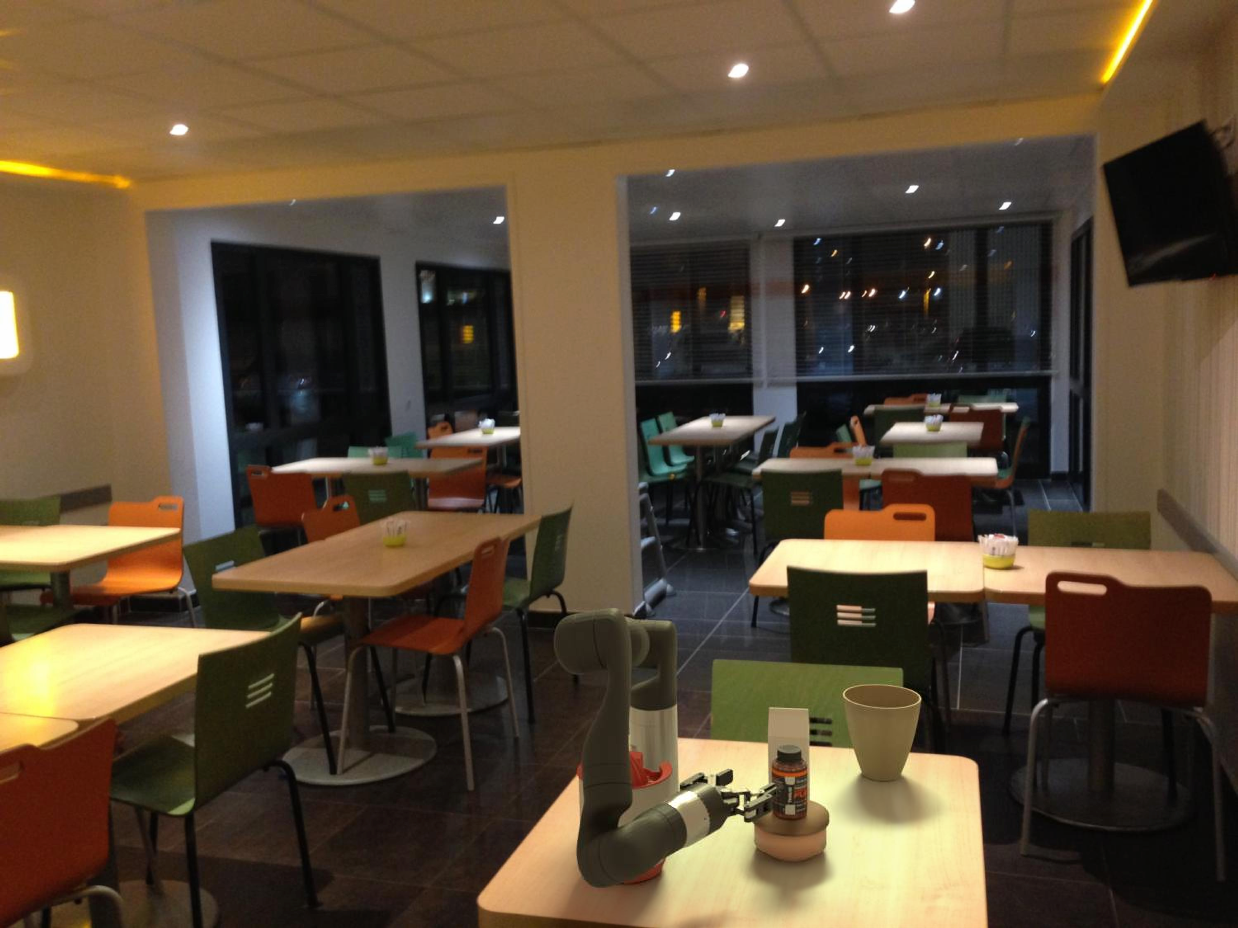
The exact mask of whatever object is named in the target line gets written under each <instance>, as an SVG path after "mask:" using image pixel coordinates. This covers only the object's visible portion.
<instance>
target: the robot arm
mask: <svg viewBox="0 0 1238 928" xmlns="http://www.w3.org/2000/svg"><path fill="white" fill-rule="evenodd" d="M553 635H554V636H553V648H554V653H555V656H556V658H557V660H558V662H559V664H560V665H561V667H562V668H563V669H564V670H565V671H566V672H567V673H570V674H572V675H574V676H575V675H577V676H578V675H579V676H580V675H581V676H582V675H587V674H592V673H593V674H595V673H600V672H605V671H608V675H607V676H608V678H607V687H606V691H605V694H604V698H603V700H602V703H601V705H600V707H599V710H598V712H597V714H596V716H595V719H594V720H593V722H592V725H591V726H590V728H589V730H588V733H587V734H586V737H585V739H584V743H583V747H582V750H581V752H582V753H581V763H582V781H583V795H584V805H583V809H582V814H581V819H580V818H579V827H578V832H577V839H576V847H575V848H576V850H575V853H576V862H577V867H578V870H579V873H580V875H581V877H582V878H583V880H584V881H585V882H586V883H587V884H588V885H590V886H591V887H593V888H598V889H602V888H603V889H604V888H608V887H612V886H615V885H619V884H624V883H623V882H627V881H631V880H633V879H636V878H638V877H640V876H642V875H643V874H645V873H647V872H648V871H649V870H651V869H652V868H653V867H654V866H655V865H657V864H658V863H659V862H660V861H661V860H662V859H664V858H666V859H667V858H668V857H670V856H671V855H673V854H675V853H677V852H679V851H681V850H683V849H685V848H688V847H690V846H693V845H694V844H696V843H698V842H699V841H701V840H704V839H705V838H707V837H708V836H711V835H712V834H714V833H715V832H717V831H718V830H720V829H722V827H723V826H724V825H725V823H726V821H727V820H728V818H730V817H735V816H738V815H739V816H741V817H743V822H744V823H747V824H749V823H750V824H751V823H753V821H755V820H756V819H758V818H760V817H762V816H764V815H766V814H768V813H770V812H772V799H774V798H776V797H777V785H776V783H772V782H771V783H769V782H768V783H767V784H766V785H764V786H762V787H760V788H759V789H755V790H754V789H752V790H749V788H748V787H743V788H729V787H726V786H728V785H730V784H731V783H733V781H734V771H733V769H731V768H726V769H724V770H722V771H720V772H718V773H716V774H714V773H709V774H708V775H706V774H705V773H704V772H701V771H700V772H697V773H695V774H694V775H692V776H690V777H688V778H687V779H685V780H683V781H681V782H680V778H679V742H678V738H679V737H678V700H677V699H678V697H677V696H678V695H677V690H678V689H677V688H678V687H677V667H678V666H677V662H678V631H677V627H676V625H675V624H674V622H672V621H670V620H662V619H661V620H654V619H634V618H632V617H630V616H629V617H628V616H625V615H624V613H623V612H622V610H620V609H619V608H616V607H610V608H609V607H608V608H603V609H597V610H590V611H584V612H578V613H574V614H570V615H567V616H565V617H564V618H562V619H561V620H559V622H558V624H557V625H556V628H555V632H554V634H553ZM632 669H639V670H641V669H642V670H657V671H658V674H657V675H656V676H654V677H651V678H650V679H647V680H645V681H641V682H638V683H635V684H634V685H632V682H631V681H632ZM629 751H637V752H643V768H646V769H649V770H651V771H653V772H659V766H660V765H661V764H663V763H664V762H666V761H668V762H669V763H670V764H671V766H672V768H673V771H672V774H671V781H672V783H671V793H672V796H670V797H668V798H666V799H665V800H663V801H662V802H661V803H660V804H658V805H656V806H654V807H652V808H650V809H648V810H646V811H644V812H643V813H641V814H639V815H638V816H637V817H636V818H635V819H634V820H633V821H632V822H630V823H628V824H625V825H623V826H620V827H618V823H619V819H620V817H621V816H622V814H623V813H625V812H626V811H627V810H628V809H629V808H630V807H631V805H632V801H633V791H632V779H631V767H630V756H629ZM740 796H743V805H741V797H740ZM753 797H756V798H755V799H753V800H751V799H752V798H753Z"/></svg>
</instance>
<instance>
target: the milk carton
mask: <svg viewBox="0 0 1238 928" xmlns="http://www.w3.org/2000/svg"><path fill="white" fill-rule="evenodd" d="M767 723H768V724H767V725H768V726H767V757H768V758H767V761H768V762H767V765H768V769H767V770H768V771H767V772H768V773H767V774H768V779H767V780H768V784H769V783H771V782H772V762H773V760H774V759H775V758H777V757H778V756H777V748H778V747H779V746H781V745H796V746H799V747H800V748H801V752H802V753H801V754H802V756H801V757H802V759H803V760H804V761H805V762H806V763H807V799H808V800H811V789H810V788H811V787H810V785H811V781H810V779H811V778H810V776H811V775H810V774H811V773H810V770H811V769H810V764H811V763H810V761H811V760H810V717H809V709H808V708H790V707H789V708H788V707H787V708H786V707H768V722H767Z"/></svg>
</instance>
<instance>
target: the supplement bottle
mask: <svg viewBox="0 0 1238 928" xmlns="http://www.w3.org/2000/svg"><path fill="white" fill-rule="evenodd" d="M801 753H802V752H801V748H800V747H799V746H796V745H781V746H779V747H778V748H777V756H778V757H777V758H775V759H774V760H773V762H772V783H776V785H777V797H776V798H774V799H772V812H773V813H774V815H776V816H777V817H780V818H783V819H788V820H794V819H800V818H802V817H804V816H805V815H806V814H807V763H806V762H805V761H804V760H803V759H802V757H801V756H802V754H801Z"/></svg>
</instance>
